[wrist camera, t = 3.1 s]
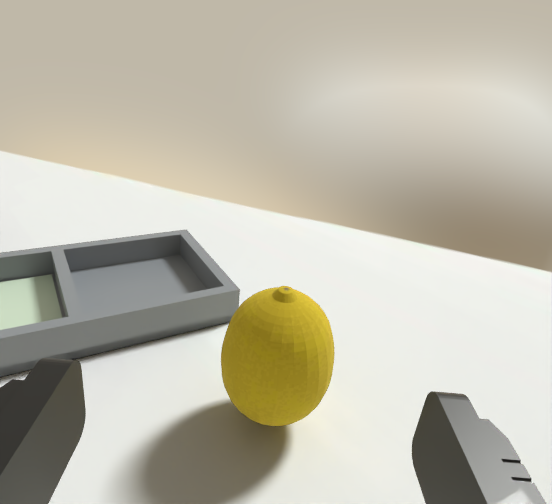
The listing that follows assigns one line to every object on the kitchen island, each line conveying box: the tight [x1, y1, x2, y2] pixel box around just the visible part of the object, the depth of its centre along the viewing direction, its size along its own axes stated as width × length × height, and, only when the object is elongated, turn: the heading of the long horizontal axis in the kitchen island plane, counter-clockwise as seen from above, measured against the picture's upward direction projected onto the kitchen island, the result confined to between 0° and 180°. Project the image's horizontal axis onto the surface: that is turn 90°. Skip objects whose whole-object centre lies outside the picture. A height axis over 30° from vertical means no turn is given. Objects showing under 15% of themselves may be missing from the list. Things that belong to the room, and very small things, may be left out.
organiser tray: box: [0, 230, 240, 377], centre depth 30 cm, size 20×11×2 cm, turn 120°
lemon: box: [221, 286, 334, 426], centre depth 22 cm, size 6×6×8 cm
